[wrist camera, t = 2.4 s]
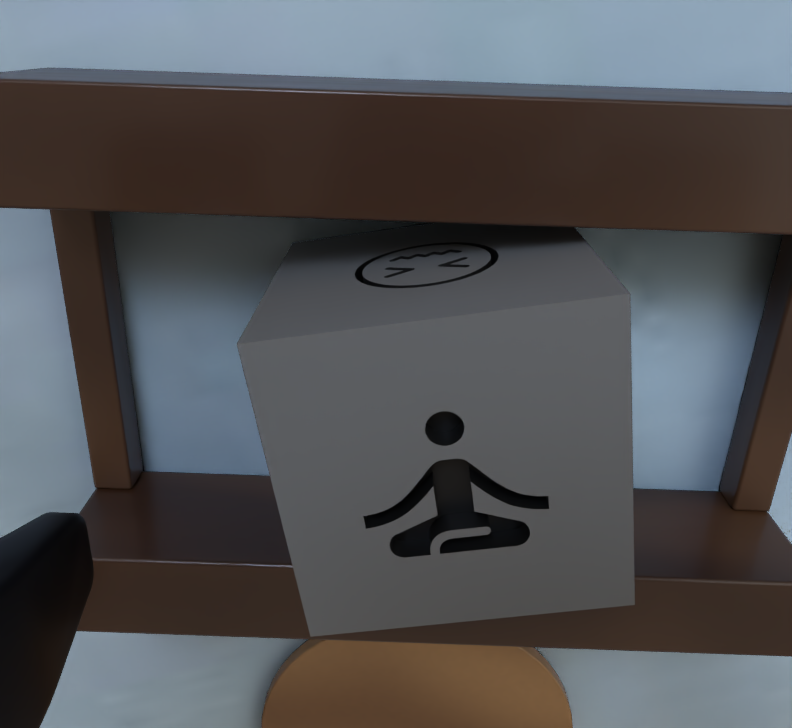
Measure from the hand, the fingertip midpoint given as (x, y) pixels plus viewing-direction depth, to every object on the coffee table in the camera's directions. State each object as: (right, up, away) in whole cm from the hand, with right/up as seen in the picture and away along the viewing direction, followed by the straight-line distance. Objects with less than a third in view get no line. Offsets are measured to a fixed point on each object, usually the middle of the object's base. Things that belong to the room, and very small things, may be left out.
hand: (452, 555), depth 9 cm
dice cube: (0, +3, +6) cm, 7 cm away
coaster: (0, -7, +10) cm, 13 cm away
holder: (0, +3, +6) cm, 7 cm away
